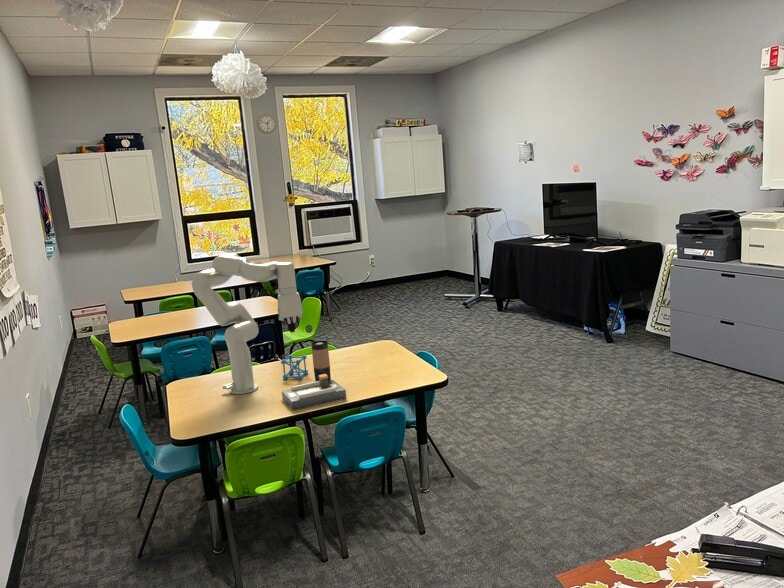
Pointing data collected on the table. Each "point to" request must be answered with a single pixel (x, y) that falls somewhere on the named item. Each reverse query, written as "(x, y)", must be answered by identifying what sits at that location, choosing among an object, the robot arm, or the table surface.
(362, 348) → the table surface
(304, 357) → the molecular structure
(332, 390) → the switch panel
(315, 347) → the travel mug
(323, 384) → the switch handle
